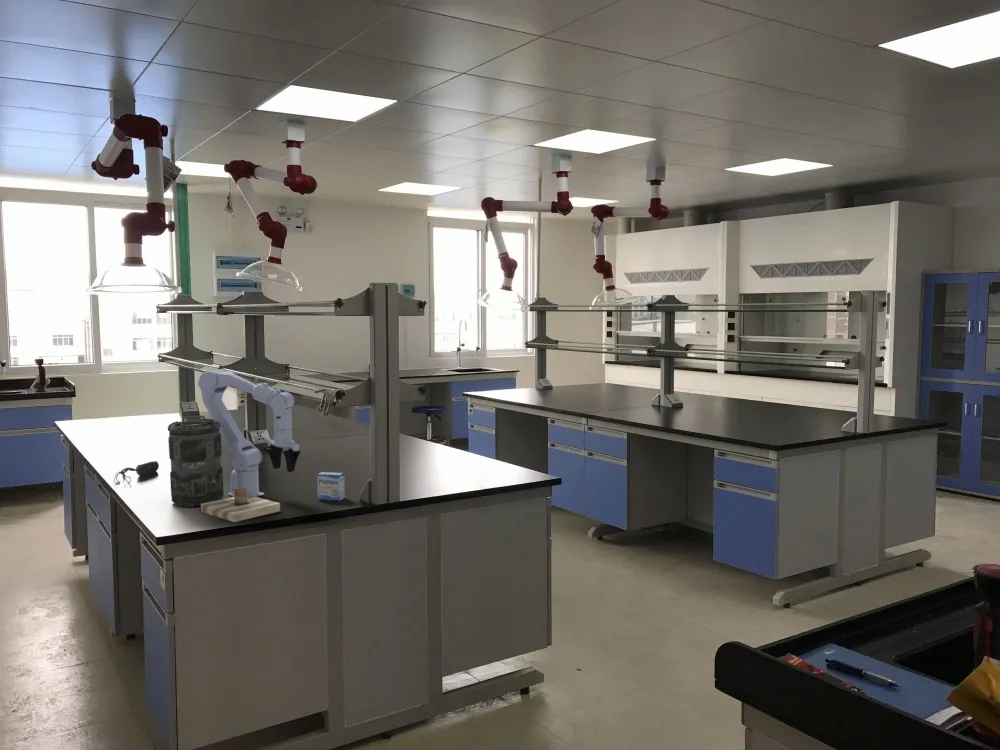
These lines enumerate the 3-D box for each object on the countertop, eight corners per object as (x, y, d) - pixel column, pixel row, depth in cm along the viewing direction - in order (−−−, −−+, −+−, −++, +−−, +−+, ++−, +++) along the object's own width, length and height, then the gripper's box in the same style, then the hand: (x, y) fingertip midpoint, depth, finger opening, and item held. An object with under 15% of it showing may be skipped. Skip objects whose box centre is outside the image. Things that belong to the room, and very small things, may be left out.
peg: (232, 511, 241) (232, 489, 240) (244, 509, 243) (243, 487, 242) (237, 513, 238) (237, 491, 237) (248, 511, 240) (248, 489, 240)
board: (201, 511, 240) (200, 503, 239) (246, 501, 252) (246, 494, 252) (234, 522, 228) (233, 513, 228) (280, 511, 241) (279, 503, 241)
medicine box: (317, 500, 255) (316, 474, 254) (322, 496, 259) (321, 471, 258) (340, 501, 254) (339, 475, 253) (345, 497, 258) (344, 472, 257)
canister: (230, 493, 260) (226, 411, 256) (214, 507, 244) (210, 420, 241) (182, 494, 259) (178, 411, 256) (163, 508, 244) (158, 420, 240)
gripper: (306, 430, 254) (307, 470, 255) (280, 425, 263) (280, 465, 264) (288, 432, 249) (289, 474, 250) (262, 428, 258) (262, 468, 259)
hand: (283, 469), depth 257 cm, fingers open, 7 cm apart
